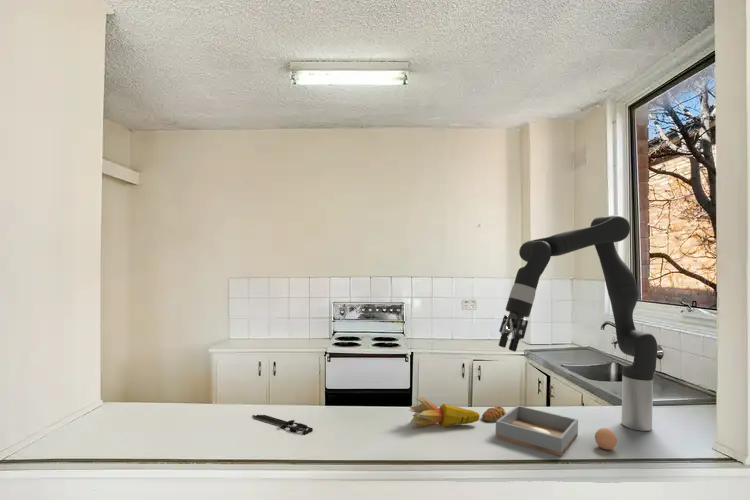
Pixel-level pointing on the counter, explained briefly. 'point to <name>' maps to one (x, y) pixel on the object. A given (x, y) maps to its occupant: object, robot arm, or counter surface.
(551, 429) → the pen board
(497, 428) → the pen walls
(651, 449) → the counter surface
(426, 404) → the torch
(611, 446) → the brown egg
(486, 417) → the pastry
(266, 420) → the knife
